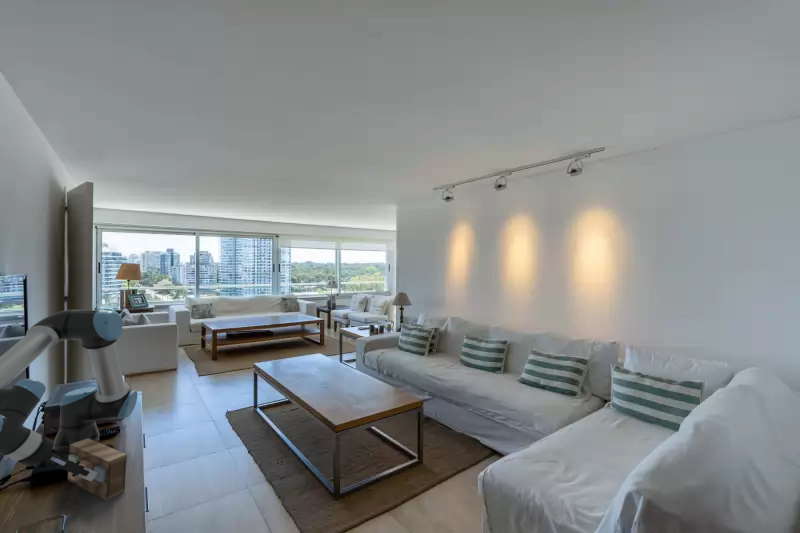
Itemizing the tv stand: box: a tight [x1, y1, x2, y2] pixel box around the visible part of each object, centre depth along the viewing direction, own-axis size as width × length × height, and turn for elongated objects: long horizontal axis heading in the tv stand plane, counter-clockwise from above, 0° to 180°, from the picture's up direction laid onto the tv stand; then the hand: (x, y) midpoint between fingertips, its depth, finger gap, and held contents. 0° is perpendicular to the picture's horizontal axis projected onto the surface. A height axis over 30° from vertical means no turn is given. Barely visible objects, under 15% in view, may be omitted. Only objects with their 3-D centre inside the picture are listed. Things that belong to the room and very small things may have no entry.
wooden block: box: [67, 438, 128, 501], centre depth 128 cm, size 24×6×13 cm, turn 66°
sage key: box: [67, 453, 80, 463], centre depth 130 cm, size 4×5×4 cm
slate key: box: [94, 465, 106, 482], centre depth 124 cm, size 4×5×4 cm
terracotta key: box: [67, 459, 93, 481], centre depth 124 cm, size 4×5×4 cm
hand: (93, 476), depth 120 cm, fingers closed
